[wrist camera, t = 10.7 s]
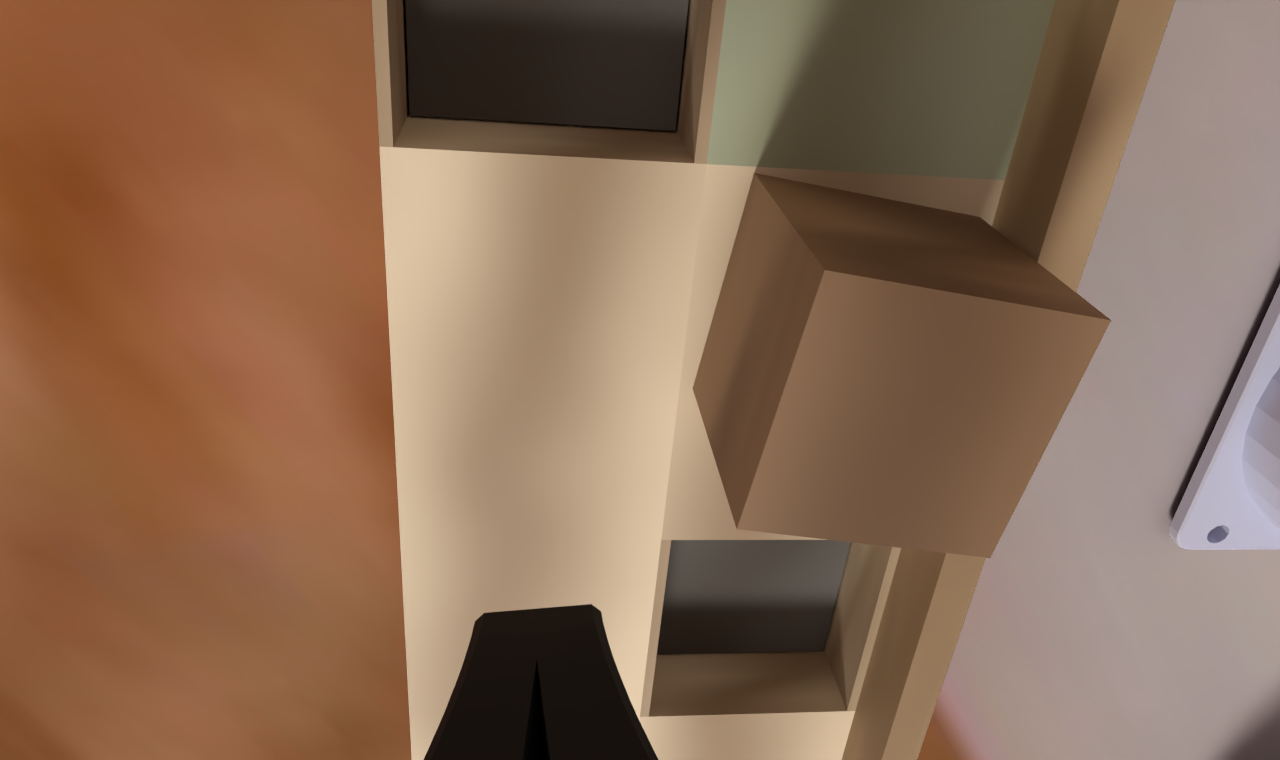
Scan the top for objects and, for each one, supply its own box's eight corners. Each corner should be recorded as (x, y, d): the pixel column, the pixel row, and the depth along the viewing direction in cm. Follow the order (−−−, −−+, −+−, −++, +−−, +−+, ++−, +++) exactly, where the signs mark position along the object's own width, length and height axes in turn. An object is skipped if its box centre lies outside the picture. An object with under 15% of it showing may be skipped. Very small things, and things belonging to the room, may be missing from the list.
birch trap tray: (1120, -303, 14) (1295, -352, 11) (834, 741, 25) (879, 868, 22) (373, -402, 12) (321, -490, 9) (423, 754, 23) (407, 893, 20)
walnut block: (979, 216, 15) (1111, 320, 12) (897, 417, 17) (990, 558, 14) (753, 172, 15) (824, 270, 11) (692, 388, 16) (737, 528, 13)
